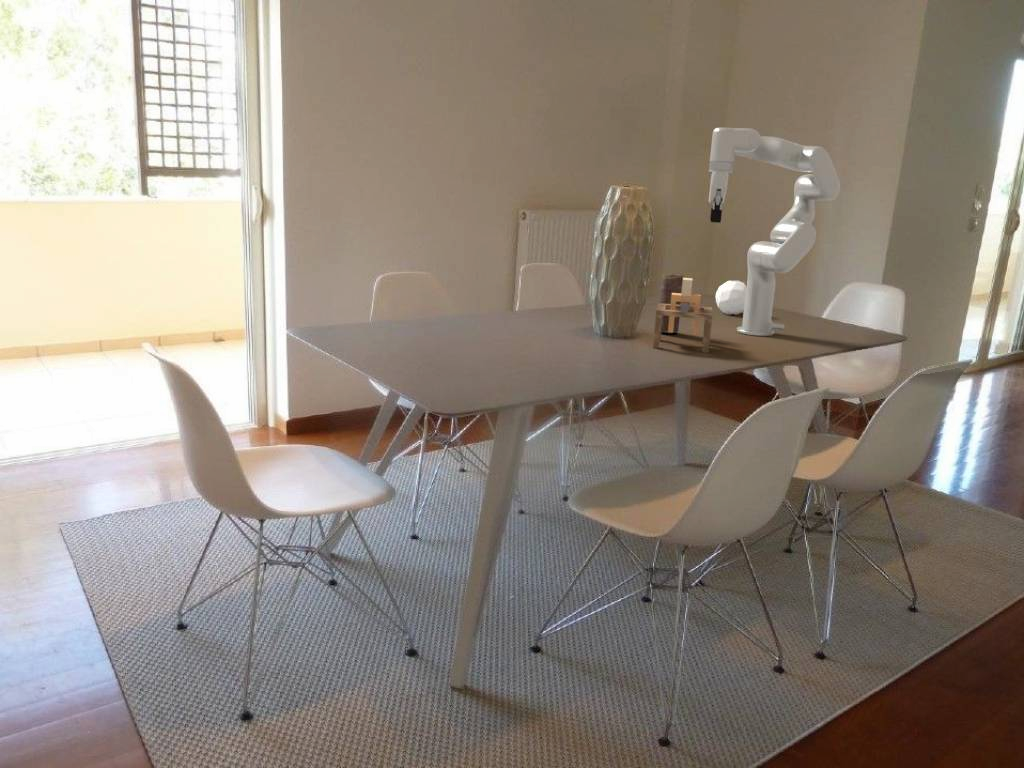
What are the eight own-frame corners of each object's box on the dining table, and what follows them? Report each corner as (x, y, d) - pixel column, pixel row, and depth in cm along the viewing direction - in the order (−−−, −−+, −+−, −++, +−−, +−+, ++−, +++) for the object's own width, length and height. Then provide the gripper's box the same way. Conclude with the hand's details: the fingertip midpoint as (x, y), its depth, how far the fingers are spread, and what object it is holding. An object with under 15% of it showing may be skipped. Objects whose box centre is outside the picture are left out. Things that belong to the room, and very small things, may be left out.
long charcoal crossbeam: (688, 305, 282) (689, 298, 281) (688, 312, 269) (689, 305, 268) (681, 304, 282) (681, 297, 282) (680, 312, 269) (681, 304, 268)
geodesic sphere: (739, 295, 351) (727, 268, 344) (765, 301, 340) (752, 273, 333) (716, 318, 348) (703, 291, 341) (740, 324, 336) (728, 297, 329)
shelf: (707, 343, 284) (711, 307, 280) (708, 353, 270) (712, 314, 267) (655, 339, 287) (658, 303, 284) (652, 348, 273) (656, 310, 270)
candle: (677, 336, 293) (683, 276, 288) (655, 334, 294) (661, 275, 289) (678, 332, 300) (684, 274, 295) (656, 330, 302) (662, 272, 297)
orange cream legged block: (696, 332, 279) (702, 279, 274) (696, 334, 274) (702, 281, 270) (668, 329, 280) (673, 276, 276) (667, 332, 276) (673, 278, 272)
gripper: (708, 166, 291) (703, 218, 295) (709, 167, 274) (703, 222, 279) (732, 167, 289) (726, 220, 294) (734, 168, 273) (727, 223, 277)
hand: (715, 221), depth 286 cm, fingers open, 9 cm apart
